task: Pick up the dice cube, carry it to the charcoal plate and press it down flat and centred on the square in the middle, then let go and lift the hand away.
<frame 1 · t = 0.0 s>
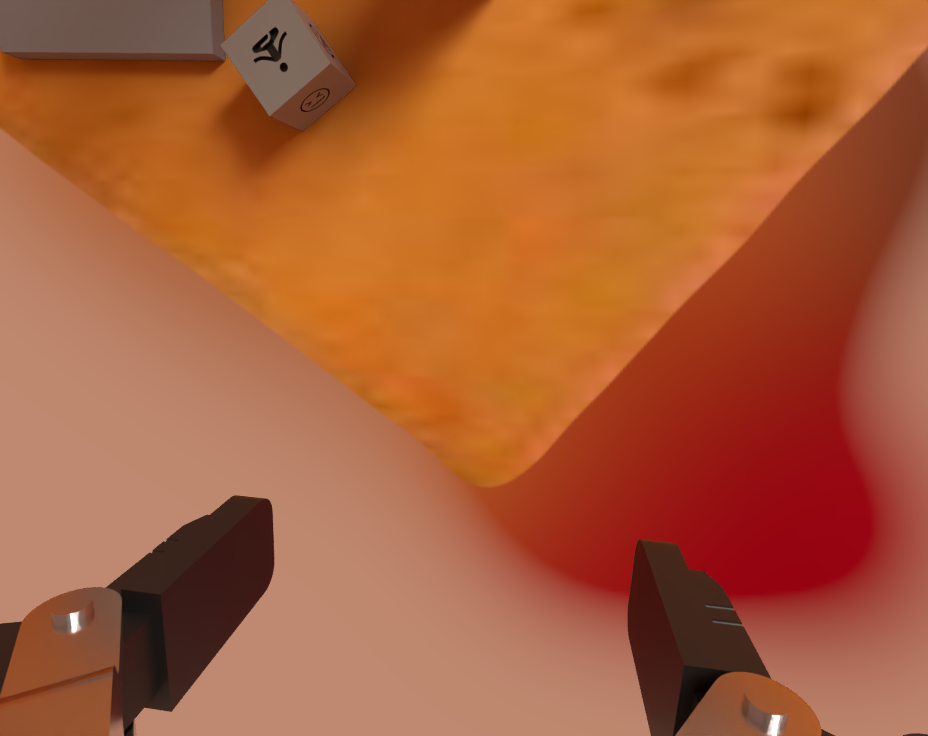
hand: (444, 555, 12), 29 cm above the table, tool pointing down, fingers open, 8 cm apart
dice cube: (309, 78, 38), on the table
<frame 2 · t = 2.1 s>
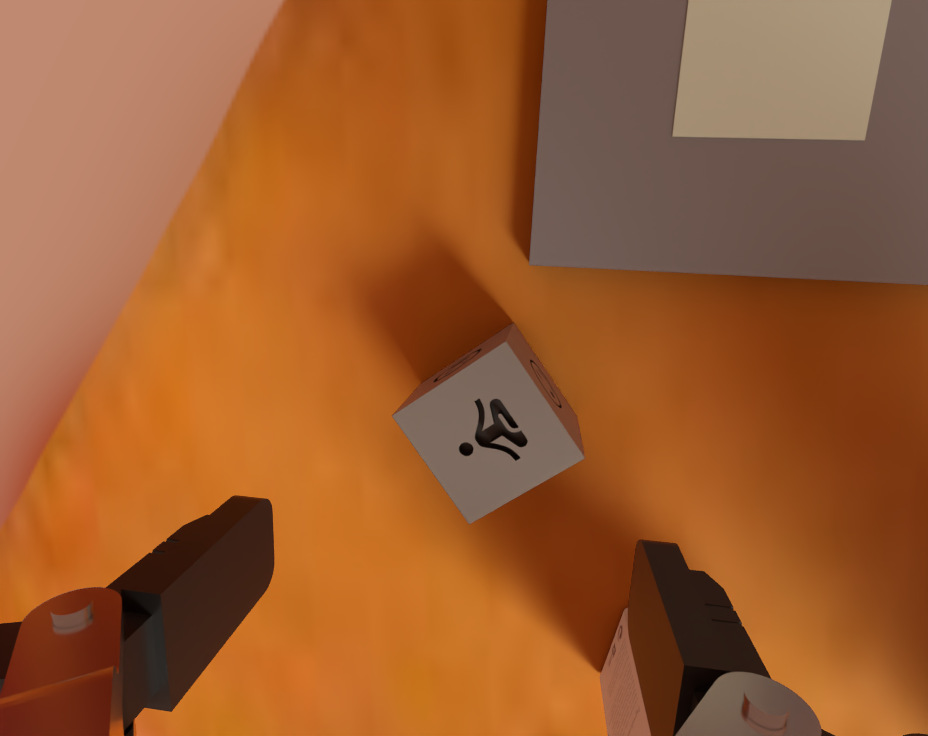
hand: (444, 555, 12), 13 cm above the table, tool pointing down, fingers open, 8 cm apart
plate: (764, 53, 20), on the table
dice cube: (498, 398, 25), on the table
skincare box: (672, 656, 26), on the table
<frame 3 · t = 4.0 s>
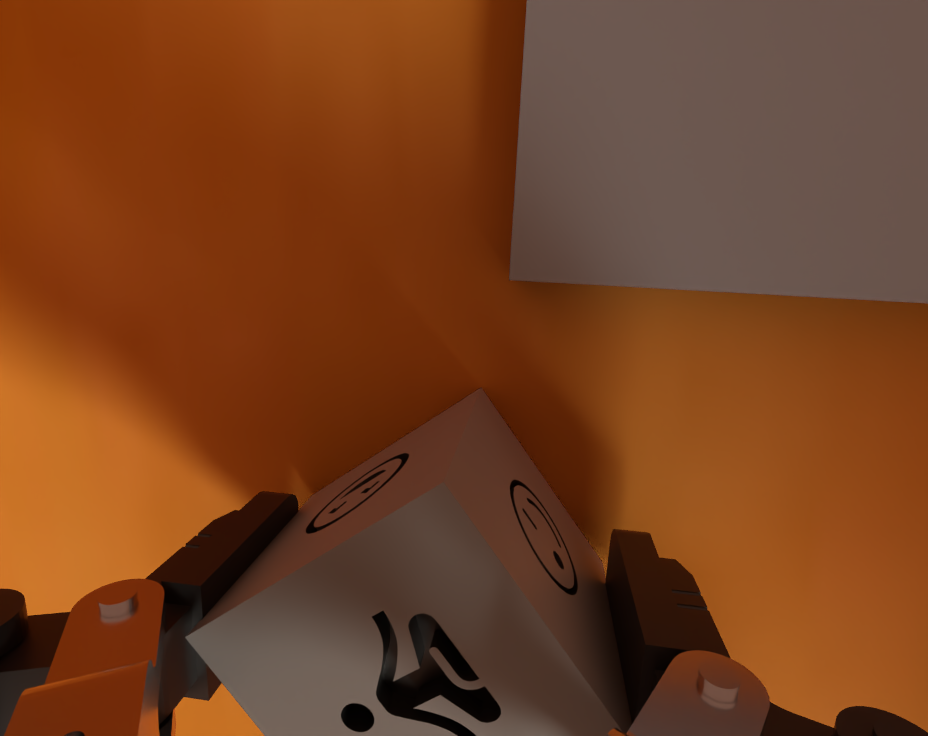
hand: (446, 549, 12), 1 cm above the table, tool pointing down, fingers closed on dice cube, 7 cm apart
dice cube: (455, 523, 13), on the table, touching gripper
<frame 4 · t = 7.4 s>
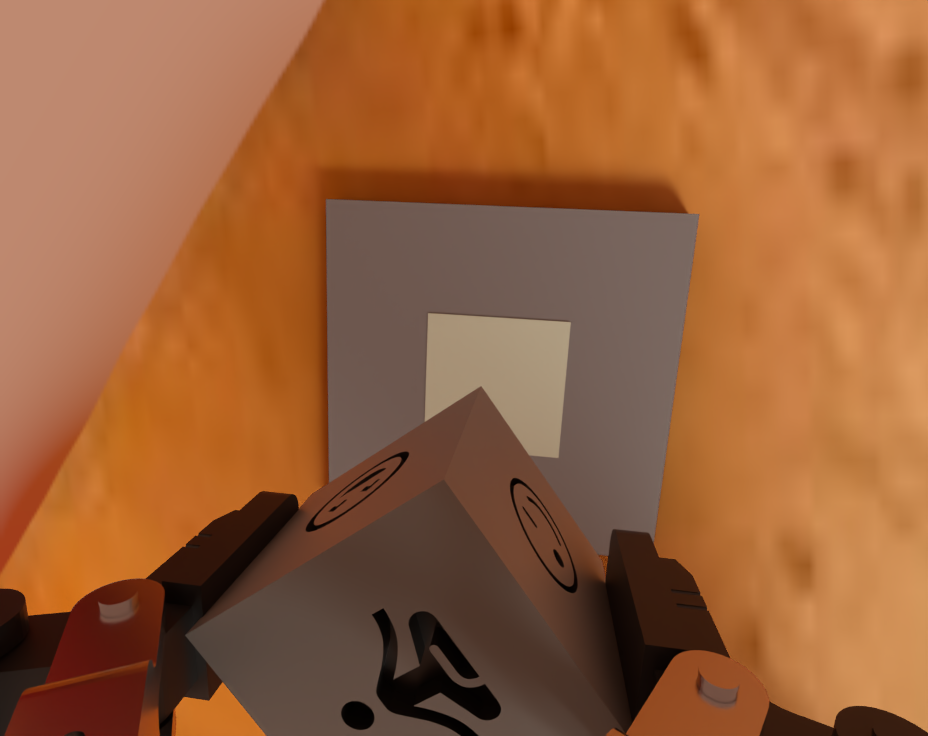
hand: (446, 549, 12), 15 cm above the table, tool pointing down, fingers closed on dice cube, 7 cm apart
plate: (496, 378, 27), on the table
dice cube: (455, 522, 13), point 14 cm above the table, touching gripper
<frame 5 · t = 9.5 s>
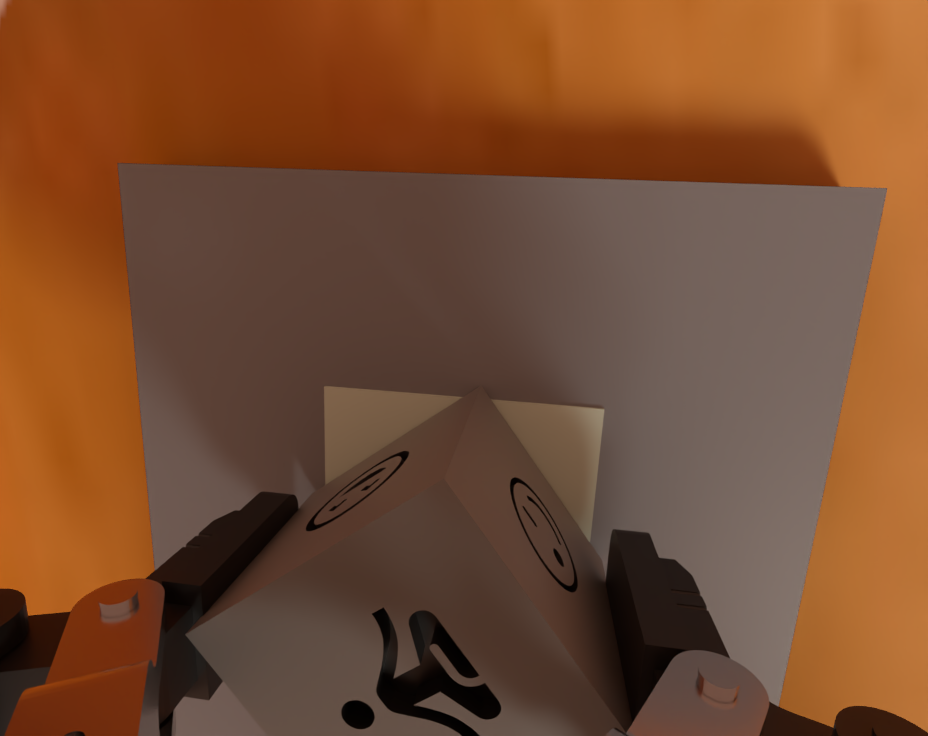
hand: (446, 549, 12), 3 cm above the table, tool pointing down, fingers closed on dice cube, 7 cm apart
plate: (462, 496, 15), on the table
dice cube: (455, 522, 13), point 1 cm above the table, touching gripper
when the fingers open (2 cm above the table, at t = 11.1 s): dice cube stays where it is, resting on plate.
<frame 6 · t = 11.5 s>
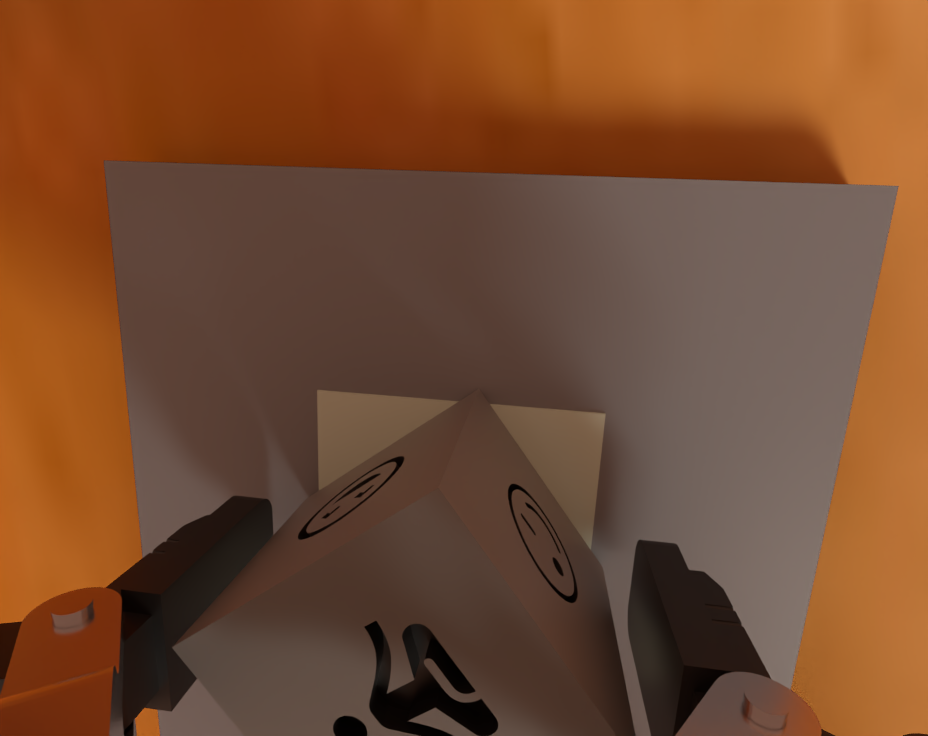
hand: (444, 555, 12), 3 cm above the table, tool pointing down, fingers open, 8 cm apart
plate: (460, 502, 14), on the table
dice cube: (452, 527, 13), point 1 cm above the table, touching plate
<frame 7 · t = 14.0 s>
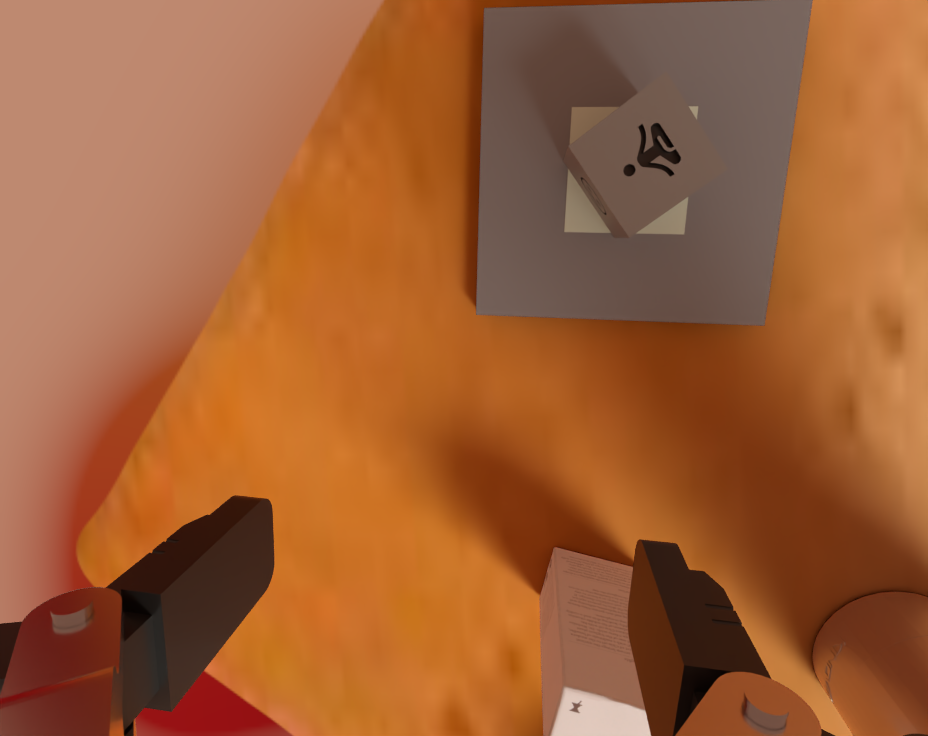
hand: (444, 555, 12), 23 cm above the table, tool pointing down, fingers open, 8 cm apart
plate: (624, 174, 31), on the table
dice cube: (628, 171, 30), point 1 cm above the table, touching plate
skincare box: (589, 581, 37), on the table
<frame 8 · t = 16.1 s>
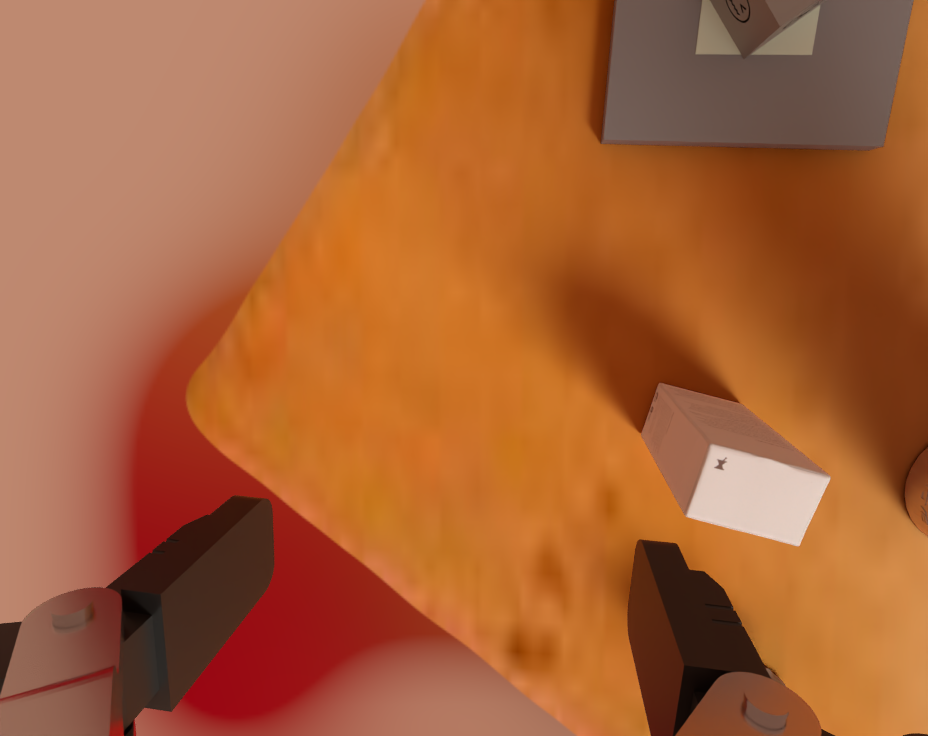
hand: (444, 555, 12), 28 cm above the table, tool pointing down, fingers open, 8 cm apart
plate: (752, 3, 33), on the table
skincare box: (690, 419, 39), on the table
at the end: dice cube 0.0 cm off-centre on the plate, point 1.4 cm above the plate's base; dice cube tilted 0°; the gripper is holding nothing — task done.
